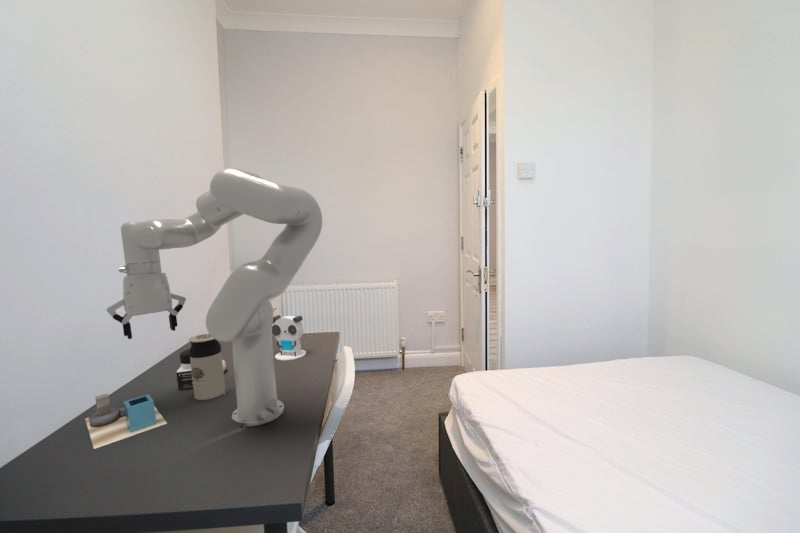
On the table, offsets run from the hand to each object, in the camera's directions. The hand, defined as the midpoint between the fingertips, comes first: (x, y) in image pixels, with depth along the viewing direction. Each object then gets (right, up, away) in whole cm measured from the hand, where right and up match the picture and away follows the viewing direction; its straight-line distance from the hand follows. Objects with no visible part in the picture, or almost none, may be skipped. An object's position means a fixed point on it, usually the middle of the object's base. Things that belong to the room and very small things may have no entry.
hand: (152, 333), depth 98 cm
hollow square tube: (+2, -21, -7) cm, 22 cm away
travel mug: (+11, -20, +9) cm, 25 cm away
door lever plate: (-3, -22, -5) cm, 23 cm away
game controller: (0, -19, +27) cm, 33 cm away
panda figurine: (+24, -16, +43) cm, 51 cm away
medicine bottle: (+3, -20, +16) cm, 26 cm away
